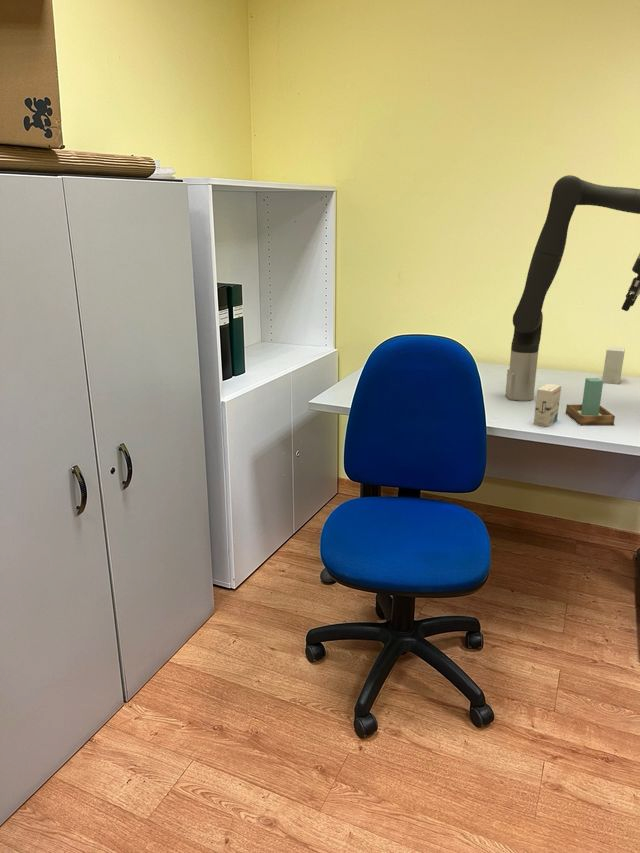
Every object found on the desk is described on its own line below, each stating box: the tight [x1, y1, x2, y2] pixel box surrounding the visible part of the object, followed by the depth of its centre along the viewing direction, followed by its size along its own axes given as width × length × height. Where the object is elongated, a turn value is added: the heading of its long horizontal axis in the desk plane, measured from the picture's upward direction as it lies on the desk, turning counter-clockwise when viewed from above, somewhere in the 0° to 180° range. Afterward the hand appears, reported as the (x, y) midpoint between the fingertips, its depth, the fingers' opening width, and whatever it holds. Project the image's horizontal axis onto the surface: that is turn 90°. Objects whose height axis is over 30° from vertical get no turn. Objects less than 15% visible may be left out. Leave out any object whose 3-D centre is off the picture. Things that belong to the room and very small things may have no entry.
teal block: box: [581, 377, 604, 415], centre depth 205 cm, size 4×4×12 cm
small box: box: [601, 345, 625, 385], centre depth 250 cm, size 8×6×13 cm
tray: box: [565, 403, 616, 426], centre depth 207 cm, size 11×13×3 cm
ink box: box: [533, 383, 562, 427], centre depth 203 cm, size 9×5×12 cm, turn 141°
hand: (626, 307), depth 210 cm, fingers open, 8 cm apart
